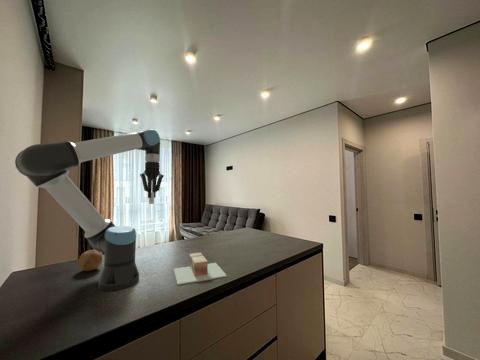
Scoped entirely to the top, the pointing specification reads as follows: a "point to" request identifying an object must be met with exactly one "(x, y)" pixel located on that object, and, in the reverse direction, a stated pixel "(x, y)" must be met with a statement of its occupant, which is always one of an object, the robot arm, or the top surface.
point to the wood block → (198, 264)
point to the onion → (90, 260)
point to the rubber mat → (187, 276)
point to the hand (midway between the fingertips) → (151, 203)
